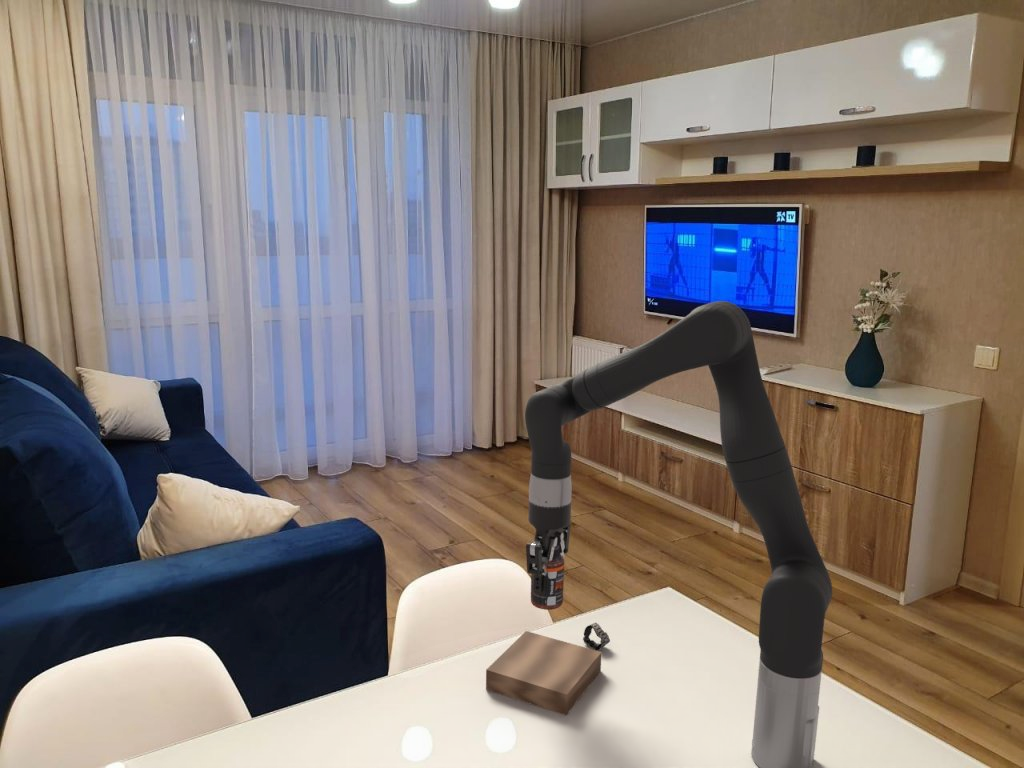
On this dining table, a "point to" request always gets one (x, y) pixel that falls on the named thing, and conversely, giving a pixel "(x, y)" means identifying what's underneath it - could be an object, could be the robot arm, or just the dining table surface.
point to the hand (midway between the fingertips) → (547, 585)
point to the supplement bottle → (551, 584)
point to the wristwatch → (599, 633)
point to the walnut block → (544, 672)
